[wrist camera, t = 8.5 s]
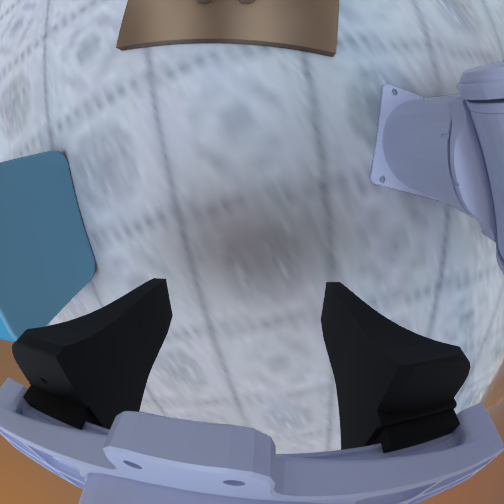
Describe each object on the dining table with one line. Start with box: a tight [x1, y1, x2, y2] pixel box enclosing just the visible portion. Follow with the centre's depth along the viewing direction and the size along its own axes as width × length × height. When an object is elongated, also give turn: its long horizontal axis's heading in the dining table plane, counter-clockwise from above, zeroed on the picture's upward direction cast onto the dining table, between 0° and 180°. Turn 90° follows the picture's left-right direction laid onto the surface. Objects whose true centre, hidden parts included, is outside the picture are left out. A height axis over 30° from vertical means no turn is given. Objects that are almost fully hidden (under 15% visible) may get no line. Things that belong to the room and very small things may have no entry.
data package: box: [0, 151, 95, 342], centre depth 15 cm, size 12×4×12 cm, turn 9°
